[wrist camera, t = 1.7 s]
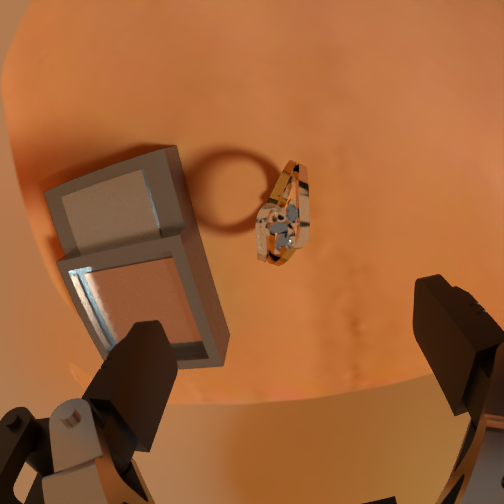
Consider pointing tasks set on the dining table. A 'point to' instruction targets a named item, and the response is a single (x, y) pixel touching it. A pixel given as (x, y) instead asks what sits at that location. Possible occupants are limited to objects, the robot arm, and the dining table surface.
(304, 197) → the ring
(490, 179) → the dining table surface
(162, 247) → the grey tray
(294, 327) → the dining table surface
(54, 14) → the dining table surface
